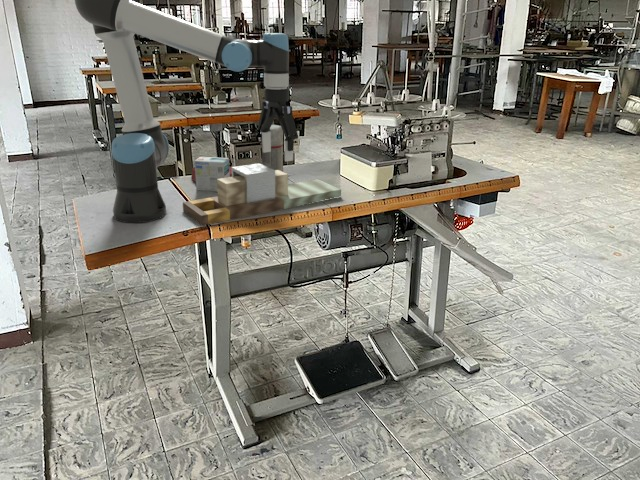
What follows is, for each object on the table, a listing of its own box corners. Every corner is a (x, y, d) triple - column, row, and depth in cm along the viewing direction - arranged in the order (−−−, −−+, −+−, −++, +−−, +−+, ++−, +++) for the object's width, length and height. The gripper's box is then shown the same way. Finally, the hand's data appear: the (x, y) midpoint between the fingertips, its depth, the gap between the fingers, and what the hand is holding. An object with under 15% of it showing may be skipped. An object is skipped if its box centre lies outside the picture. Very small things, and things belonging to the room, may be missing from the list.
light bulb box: (230, 186, 186) (229, 157, 182) (225, 192, 180) (224, 162, 176) (201, 185, 187) (199, 155, 183) (195, 190, 181) (193, 160, 177)
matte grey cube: (247, 204, 160) (246, 174, 156) (232, 195, 167) (231, 167, 164) (275, 199, 165) (275, 170, 162) (259, 191, 173) (259, 163, 169)
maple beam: (226, 206, 158) (225, 183, 155) (218, 200, 163) (217, 178, 160) (287, 194, 170) (288, 174, 167) (278, 190, 175) (278, 169, 172)
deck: (201, 225, 151) (201, 215, 150) (183, 211, 161) (182, 202, 160) (340, 197, 179) (341, 189, 178) (317, 187, 189) (317, 179, 188)
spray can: (282, 181, 194) (283, 128, 186) (260, 181, 194) (260, 127, 186) (284, 175, 202) (284, 123, 194) (263, 174, 202) (262, 123, 194)
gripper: (309, 91, 151) (309, 163, 159) (266, 82, 169) (267, 147, 178) (288, 93, 147) (288, 166, 155) (246, 84, 165) (248, 150, 173)
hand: (277, 156), depth 166 cm, fingers open, 13 cm apart
